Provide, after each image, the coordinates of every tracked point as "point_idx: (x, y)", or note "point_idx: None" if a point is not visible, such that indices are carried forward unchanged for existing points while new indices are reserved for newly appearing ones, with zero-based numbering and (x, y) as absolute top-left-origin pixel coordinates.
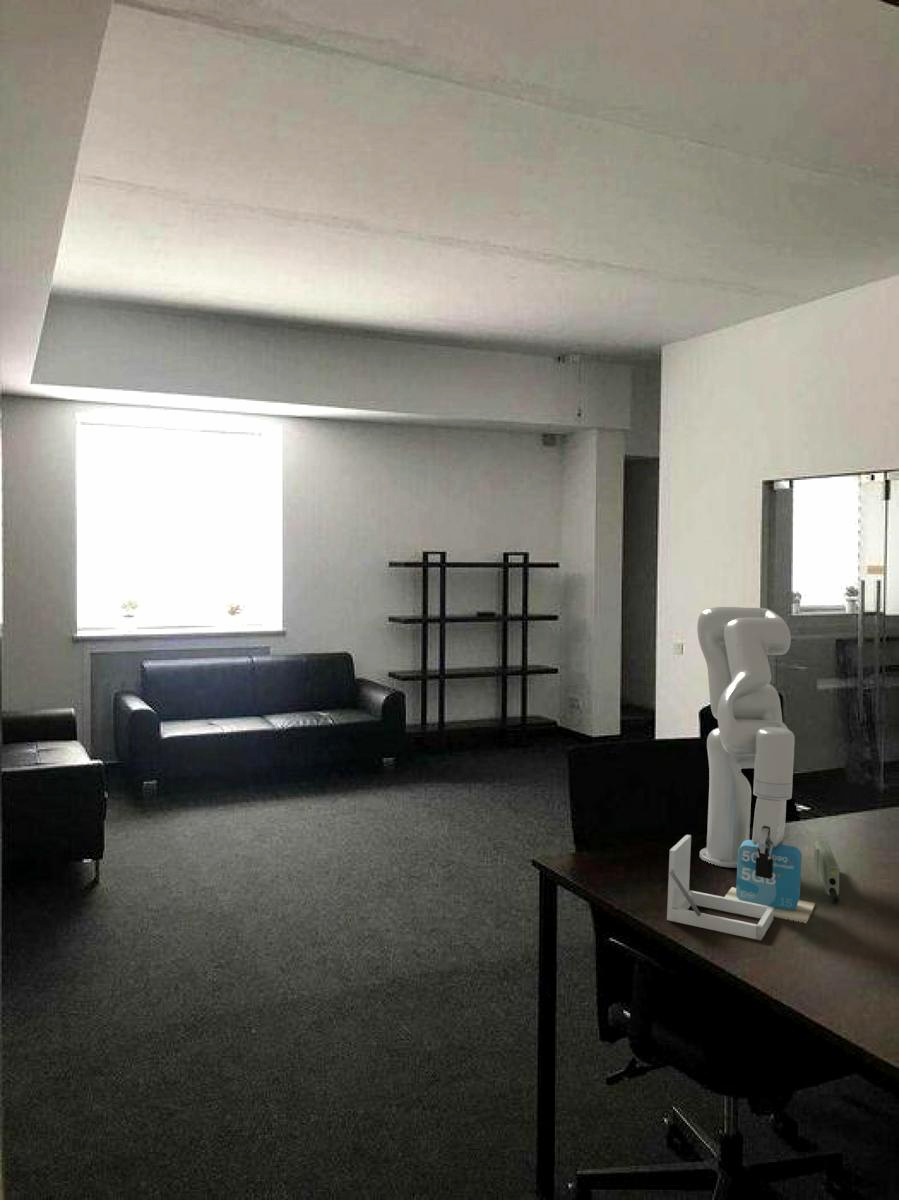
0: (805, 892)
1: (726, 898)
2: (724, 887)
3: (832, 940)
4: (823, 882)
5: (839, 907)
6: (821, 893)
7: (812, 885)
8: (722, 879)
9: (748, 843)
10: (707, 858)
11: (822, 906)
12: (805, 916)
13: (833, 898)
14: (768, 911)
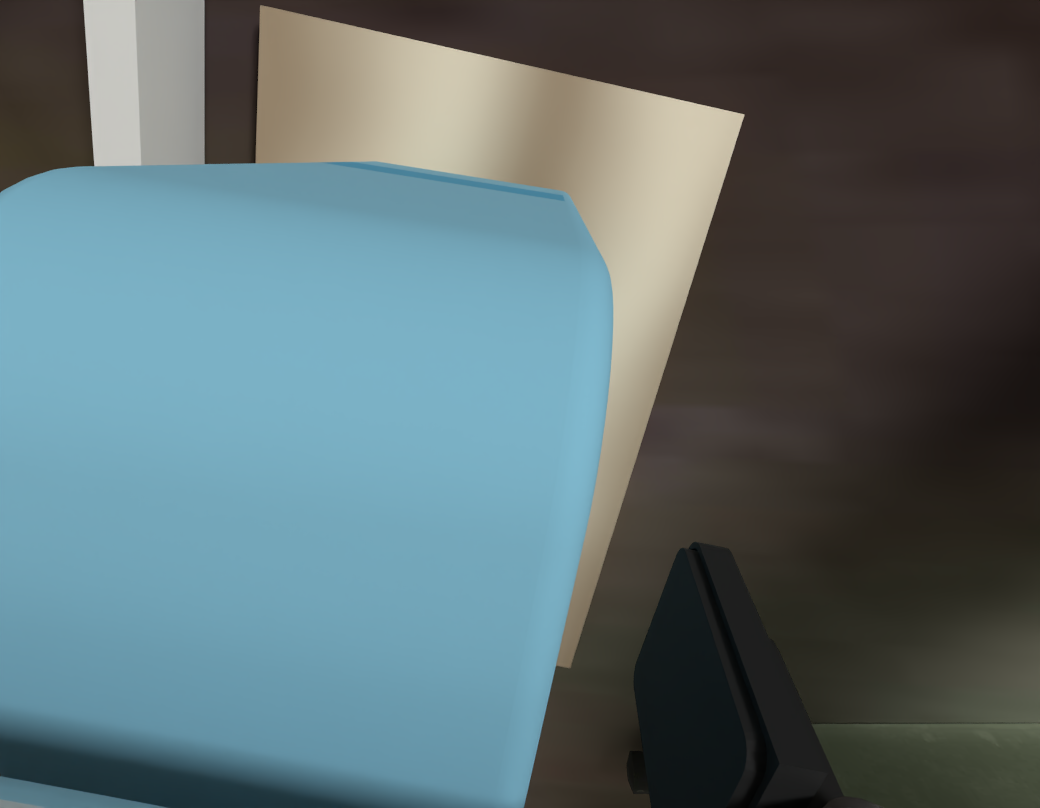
0: (801, 628)
1: (112, 63)
2: (780, 41)
3: None
4: (961, 743)
5: (589, 754)
6: (804, 702)
7: (951, 673)
8: (1023, 8)
9: (123, 504)
10: None
11: (573, 687)
12: None
13: (632, 767)
14: None
